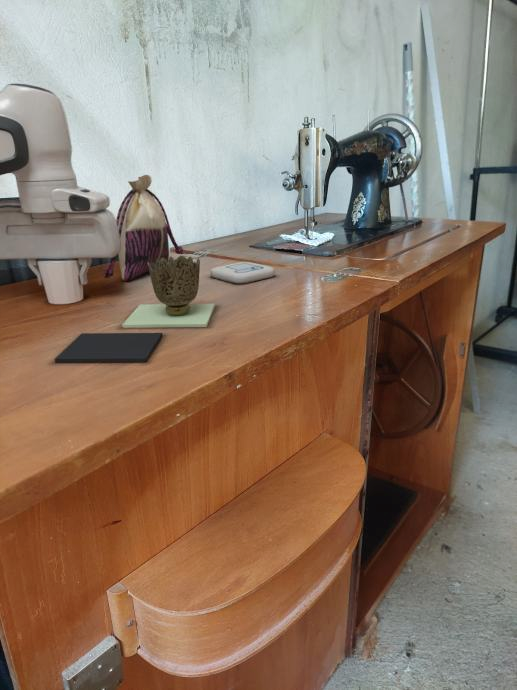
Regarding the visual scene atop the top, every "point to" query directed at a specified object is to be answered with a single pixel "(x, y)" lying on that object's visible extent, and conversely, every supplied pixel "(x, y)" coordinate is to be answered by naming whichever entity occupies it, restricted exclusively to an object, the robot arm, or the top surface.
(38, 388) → the top surface
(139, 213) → the pouch
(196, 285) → the cup
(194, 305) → the sage mat
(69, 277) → the white tapered cup
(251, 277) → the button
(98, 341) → the charcoal mat
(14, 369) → the top surface
